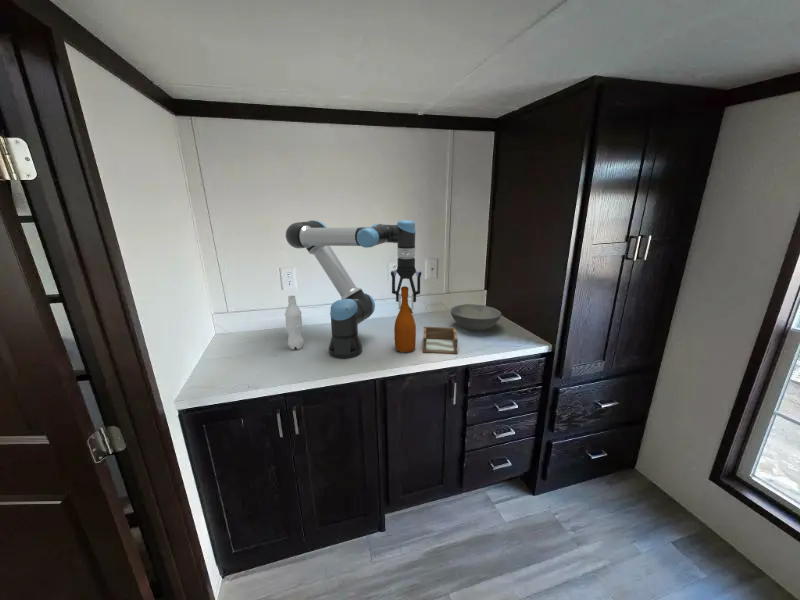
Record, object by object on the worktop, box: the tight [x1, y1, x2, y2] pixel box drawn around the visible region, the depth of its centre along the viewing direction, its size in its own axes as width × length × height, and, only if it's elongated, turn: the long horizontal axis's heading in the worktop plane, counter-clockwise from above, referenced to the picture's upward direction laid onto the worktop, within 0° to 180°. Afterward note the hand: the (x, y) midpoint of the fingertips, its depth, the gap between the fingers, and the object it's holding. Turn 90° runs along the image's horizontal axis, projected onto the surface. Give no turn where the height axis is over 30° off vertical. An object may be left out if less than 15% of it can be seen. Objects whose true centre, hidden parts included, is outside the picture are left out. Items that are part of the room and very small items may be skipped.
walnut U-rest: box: [422, 326, 459, 355], centre depth 163 cm, size 16×16×7 cm
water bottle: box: [284, 295, 305, 351], centre depth 158 cm, size 7×7×25 cm
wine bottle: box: [393, 285, 417, 353], centre depth 156 cm, size 10×10×30 cm
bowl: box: [450, 303, 502, 331], centre depth 185 cm, size 26×26×10 cm
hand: (406, 308), depth 154 cm, fingers closed on wine bottle, 5 cm apart
